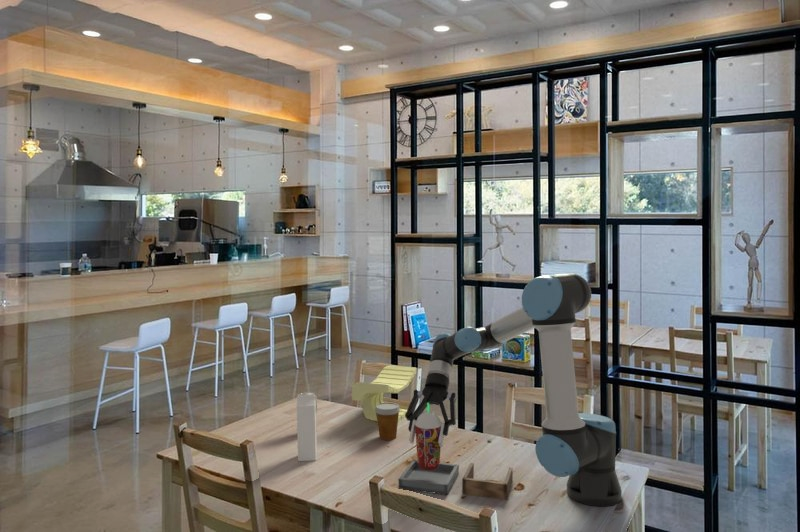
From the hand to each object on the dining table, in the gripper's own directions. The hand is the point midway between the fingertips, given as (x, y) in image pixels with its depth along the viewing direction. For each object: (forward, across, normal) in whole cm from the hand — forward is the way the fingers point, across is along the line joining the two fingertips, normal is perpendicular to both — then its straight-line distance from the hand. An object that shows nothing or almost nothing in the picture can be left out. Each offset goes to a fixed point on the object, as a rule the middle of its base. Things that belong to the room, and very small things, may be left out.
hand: (425, 443), depth 173 cm
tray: (+7, 0, -11) cm, 13 cm away
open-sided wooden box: (+6, -18, -12) cm, 23 cm away
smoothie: (+4, 0, -9) cm, 10 cm away
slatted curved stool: (-31, +34, -51) cm, 68 cm away
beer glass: (-12, +56, -32) cm, 65 cm away
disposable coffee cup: (-15, +25, -34) cm, 45 cm away
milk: (+3, +45, -16) cm, 48 cm away
